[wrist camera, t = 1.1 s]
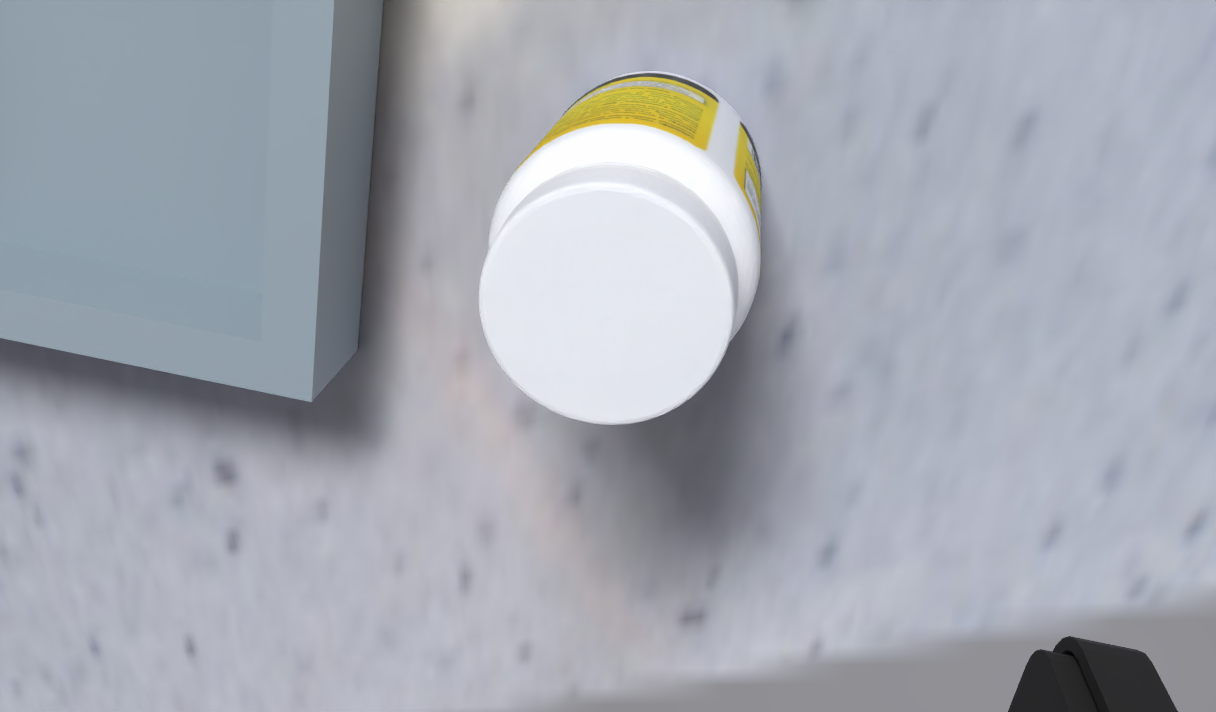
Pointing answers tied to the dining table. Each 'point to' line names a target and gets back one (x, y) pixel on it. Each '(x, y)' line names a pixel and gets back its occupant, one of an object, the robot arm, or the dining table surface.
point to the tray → (189, 183)
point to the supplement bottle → (625, 251)
